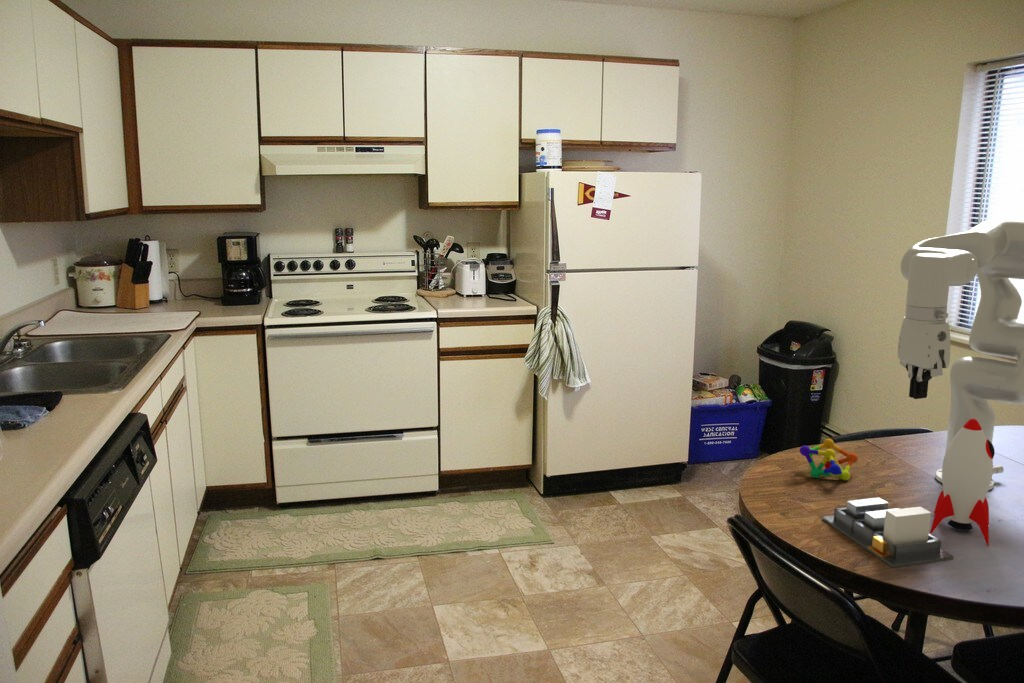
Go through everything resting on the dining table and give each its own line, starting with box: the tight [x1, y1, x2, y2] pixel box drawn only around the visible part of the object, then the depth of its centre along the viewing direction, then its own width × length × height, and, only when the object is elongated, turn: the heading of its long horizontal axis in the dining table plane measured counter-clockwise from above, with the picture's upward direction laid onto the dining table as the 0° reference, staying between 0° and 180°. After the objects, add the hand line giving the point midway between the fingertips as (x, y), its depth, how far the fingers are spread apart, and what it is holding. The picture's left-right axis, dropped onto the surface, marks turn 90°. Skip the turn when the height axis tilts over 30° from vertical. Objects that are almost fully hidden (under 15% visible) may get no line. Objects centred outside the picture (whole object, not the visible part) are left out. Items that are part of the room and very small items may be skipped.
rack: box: [821, 497, 954, 569], centre depth 158 cm, size 14×22×6 cm, turn 13°
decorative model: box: [799, 438, 859, 481], centre depth 192 cm, size 13×9×15 cm
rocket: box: [929, 419, 996, 547], centre depth 159 cm, size 11×11×25 cm
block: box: [883, 506, 932, 545], centre depth 152 cm, size 8×3×8 cm, turn 102°
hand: (917, 397), depth 161 cm, fingers closed
